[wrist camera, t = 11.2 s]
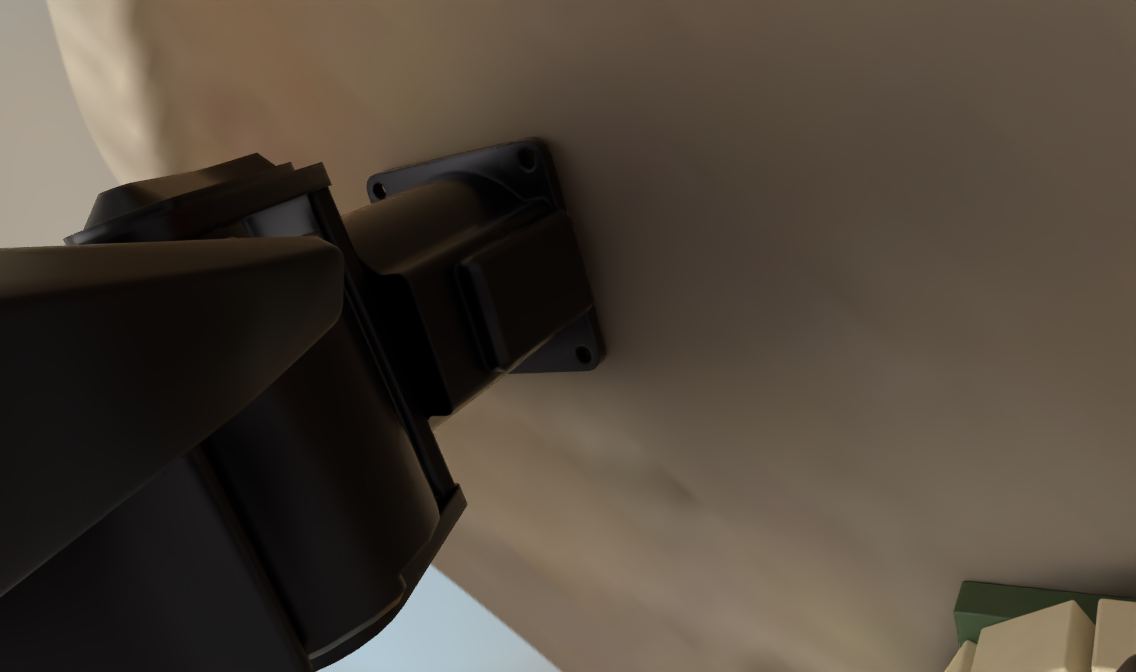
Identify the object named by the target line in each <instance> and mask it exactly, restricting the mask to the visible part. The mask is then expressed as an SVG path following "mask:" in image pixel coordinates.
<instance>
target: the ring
mask: <svg viewBox="0 0 1136 672" xmlns="http://www.w3.org/2000/svg"><path fill="white" fill-rule="evenodd" d="M1134 654H1136V602H1129V601H1120V600H1112V599H1100V600H1099V602H1098V609H1097V618H1096V626H1095V625H1094V623H1093V622H1092V621H1091V620H1090V619H1089V617H1088V616H1087V615H1086V614H1085V612H1084V611H1083V610H1082V609H1081V608H1080V606H1079V605H1078V604H1077V603H1076V602H1075V601H1074V600H1071V601H1068V602H1064V603H1061V604H1058V605H1055V606H1052V607H1049V608H1045V609H1042V610H1039V611H1036V612H1033V613H1029V614H1026V615H1023V616H1020V617H1017V618H1014V619H1010V620H1007V621H1004V622H1001V623H998V624H994V625H991V626H988V627H985V628H983V629H982V630H981V633H980V637H979V641H978V645H977V644H975V643H973V642H972V641H969V640H967V641H965V642H964V643H963V645H962V646H961V648H960V649H959V651H958V652H957V654H956V655H955V657H954V658H953V659H952V661H951V662H950V664H949V665H948V667H947V668H946V670H945V671H944V672H1116V671H1117V670H1118V669H1119V667H1120V666H1121V665H1122V664H1123V663H1124V661H1125V660H1126V659H1128V658H1129V657H1130V656H1132V655H1134Z"/></svg>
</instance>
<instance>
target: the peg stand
mask: <svg viewBox="0 0 1136 672" xmlns="http://www.w3.org/2000/svg"><path fill="white" fill-rule="evenodd" d="M1100 599H1112V600H1120V601H1129V602H1136V599H1130V598H1121V597H1111V596H1101V595H1091V594H1082V593H1072V592H1062V591H1052V590H1043V589H1033V588H1023V587H1013V586H1004V585H994V584H984V583H974V582H962V585H961V589H960V592H959V595H958V599H957V602H956V605H955V609H954V617H955V623H956V628H957V634H958V640H959V646H960V648H961V646H962V645H963V643H964V642H965V641H967V640H969V641H972V642H973V643H975V644H977V645H978V641H979V637H980V633H981V630H982V629H983V628H985V627H988V626H991V625H994V624H998V623H1001V622H1004V621H1007V620H1010V619H1014V618H1017V617H1020V616H1023V615H1026V614H1029V613H1033V612H1036V611H1039V610H1042V609H1045V608H1049V607H1052V606H1055V605H1058V604H1061V603H1064V602H1068V601H1071V600H1074V601H1075V602H1076V603H1077V604H1078V605H1079V606H1080V608H1081V609H1082V610H1083V611H1084V612H1085V614H1086V615H1087V616H1088V617H1089V619H1090V620H1091V621H1092V622H1093V623H1094V625H1095V626H1096V618H1097V609H1098V602H1099V600H1100Z"/></svg>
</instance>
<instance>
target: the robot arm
mask: <svg viewBox="0 0 1136 672" xmlns="http://www.w3.org/2000/svg"><path fill="white" fill-rule="evenodd" d="M527 151H529V152H531V153H532V155H533V156H534V159H535V164H534V165H532V164H531V163H530V162H529V160H528V158H527ZM330 185H332V184H331V182H330V179H329V177H328V174H327V172H326V170H325V167H324V165H323V163H322V162H320V163H317V164H314V165H311V166H307V167H304V168H301V169H298V170H294V168H293V165H292V163H291V162H288V163H285V164H282V165H278V166H275V165H274V164H272V163H271V162H269V161H268V160H267V159H265V158H264V157H262V156H261V155H260V154H258V153H254V154H251V155H248V156H244V157H241V158H238V159H235V160H231V161H228V162H225V163H222V164H218V165H215V166H212V167H208V168H205V169H201V170H197V171H193V172H189V173H183V174H178V175H172V176H166V177H161V178H155V179H150V180H144V181H138V182H133V183H128V184H125V185H122V186H119V187H116V188H113V189H110V190H108V191H105V192H102V193H100V194H99V195H98V197H97V199H96V201H95V204H94V206H93V208H92V211H91V213H90V216H89V218H88V220H87V223H86V225H85V228H84V230H83V231H80V232H78V233H75V234H73V235H71V236H68V237H66V238H65V239H63V240H64V242H65V244H66V246H44V247H23V248H22V247H21V248H0V672H316V671H318V670H320V669H322V668H324V667H327V666H329V665H331V664H333V663H335V662H337V661H339V660H341V659H342V658H344V657H346V656H347V655H349V654H351V653H352V652H354V651H355V650H357V649H359V648H360V647H361V646H363V645H364V644H365V643H367V642H368V641H370V640H371V639H372V638H374V637H375V636H376V635H378V634H379V633H380V632H381V631H382V630H383V629H384V628H385V627H386V626H387V625H388V624H389V623H390V622H391V621H392V620H393V619H394V618H395V616H396V615H397V614H398V613H399V611H400V610H401V609H402V607H403V606H404V605H405V603H406V602H407V600H408V598H409V597H410V595H411V594H412V592H413V590H414V589H415V587H416V586H417V584H418V582H419V581H420V579H421V578H422V576H423V575H424V573H425V571H426V570H427V568H428V567H429V565H430V563H431V562H432V560H433V559H434V557H435V555H436V554H437V552H438V551H439V549H440V548H441V546H442V544H443V543H444V541H445V540H446V538H447V536H448V535H449V533H450V532H451V530H452V528H453V527H454V525H455V524H456V522H457V521H458V519H459V517H460V516H461V514H462V513H463V511H464V509H465V508H466V506H467V501H466V499H465V497H464V494H463V492H462V489H461V487H460V485H459V484H458V483H454V481H453V479H452V476H451V474H450V472H449V469H448V467H447V465H446V462H445V460H444V458H443V455H442V453H441V451H440V448H439V446H438V444H437V441H436V439H435V437H434V434H433V432H432V430H434V429H435V428H436V427H438V426H439V425H440V424H442V423H443V422H444V421H446V420H447V419H448V418H450V417H451V416H452V415H454V414H455V413H456V412H458V411H459V410H460V409H462V408H463V407H464V406H466V405H467V404H468V403H469V402H471V401H472V400H473V399H475V398H476V397H477V396H479V395H480V394H481V393H483V392H484V391H485V390H487V389H488V388H489V387H491V386H492V385H493V384H495V383H496V382H497V381H499V380H500V379H501V378H503V377H504V376H505V375H506V374H515V373H543V372H572V371H590V370H594V369H595V368H596V367H597V366H598V365H600V364H601V363H602V362H603V361H604V360H605V357H606V347H605V343H604V339H603V336H602V332H601V329H600V325H599V322H598V318H597V315H596V311H595V308H594V304H593V302H594V300H593V296H592V292H591V289H590V285H589V282H588V278H587V275H586V271H585V268H584V264H583V261H582V257H581V253H580V250H579V246H578V243H577V239H576V236H575V232H574V229H573V225H572V222H571V218H570V217H569V215H568V213H567V210H566V206H565V203H564V199H563V196H562V192H561V188H560V185H559V181H558V178H557V174H556V171H555V167H554V164H553V160H552V157H551V153H550V151H549V149H548V147H547V145H546V144H545V143H544V142H543V141H542V140H540V139H538V138H536V137H528V138H524V139H519V140H515V141H511V142H506V143H502V144H498V145H494V146H489V147H485V148H481V149H476V150H472V151H468V152H464V153H459V154H455V155H451V156H446V157H442V158H438V159H434V160H429V161H425V162H421V163H416V164H412V165H408V166H404V167H399V168H395V169H391V170H386V171H382V172H380V173H377V174H375V175H373V176H371V177H370V178H369V179H368V181H367V192H368V195H369V198H370V201H371V204H370V205H367V206H365V207H362V208H360V209H358V210H355V211H353V212H350V213H348V214H346V215H343V216H340V214H339V212H338V209H337V207H336V205H335V202H334V200H333V198H332V195H331V193H330V191H329V188H328V186H330ZM382 185H383V186H384V188H385V190H386V193H385V192H384V190H383V188H382ZM583 346H584V347H586V348H587V349H589V351H590V352H591V356H592V357H591V356H588V355H587V354H586V353H585V351H584V349H583ZM1116 672H1136V654H1134V655H1132V656H1130V657H1129V658H1128V659H1126V660H1125V661H1124V663H1123V664H1122V665H1121V666H1120V667H1119V669H1118V670H1117V671H1116Z"/></svg>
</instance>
